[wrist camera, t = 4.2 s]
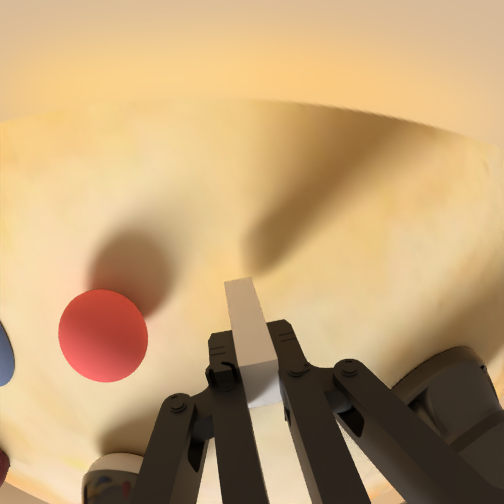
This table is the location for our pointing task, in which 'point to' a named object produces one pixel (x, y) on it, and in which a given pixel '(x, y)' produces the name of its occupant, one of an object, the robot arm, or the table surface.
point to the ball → (103, 335)
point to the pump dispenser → (111, 479)
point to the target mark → (5, 358)
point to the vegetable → (3, 466)
